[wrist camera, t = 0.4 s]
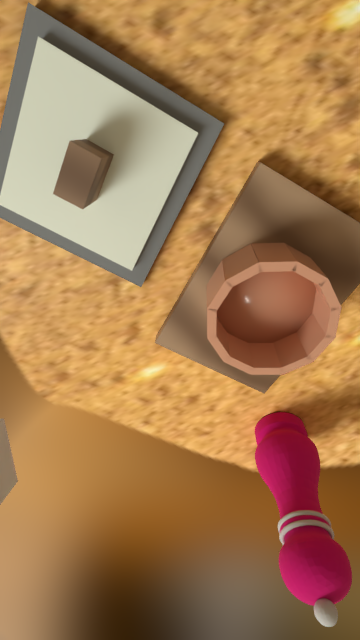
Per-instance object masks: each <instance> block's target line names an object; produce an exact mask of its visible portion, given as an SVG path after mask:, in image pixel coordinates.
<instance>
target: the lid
mask: <svg viewBox="0 0 360 640" xmlns="http://www.w3.org/2000/svg"><path fill="white" fill-rule="evenodd" d="M197 135H198V132H196V131H194V130H193V129H191V128H189V127H188V126H186V125H184V124H183V123H181V122H180V121H178V120H176V119H175V118H173V117H171V116H170V115H168V114H166V113H165V112H163V111H161V110H160V109H158V108H156V107H155V106H153V105H151V104H150V103H148V102H146V101H145V100H143V99H141V98H140V97H138V96H136V95H135V94H133V93H131V92H130V91H128V90H126V89H125V88H123V87H121V86H120V85H118V84H116V83H115V82H113V81H112V80H110V79H108V78H107V77H105V76H103V75H102V74H100V73H98V72H97V71H95V70H93V69H92V68H90V67H88V66H87V65H85V64H83V63H82V62H80V61H78V60H77V59H75V58H73V57H72V56H70V55H68V54H67V53H65V52H63V51H62V50H60V49H58V48H57V47H55V46H53V45H52V44H50V43H48V42H47V41H45V40H44V39H42V38H40V37H38V39H37V43H36V47H35V52H34V56H33V60H32V64H31V68H30V72H29V77H28V81H27V85H26V89H25V93H24V98H23V102H22V106H21V110H20V114H19V118H18V123H17V127H16V131H15V135H14V139H13V143H12V148H11V152H10V156H9V160H8V164H7V168H6V173H5V177H4V181H3V185H2V189H1V194H0V205H1V206H3V207H5V208H7V209H9V210H11V211H13V212H15V213H17V214H19V215H21V216H23V217H25V218H27V219H29V220H31V221H33V222H35V223H37V224H39V225H41V226H43V227H45V228H47V229H49V230H51V231H53V232H55V233H57V234H59V235H61V236H63V237H65V238H67V239H69V240H71V241H73V242H75V243H77V244H79V245H81V246H83V247H85V248H87V249H89V250H91V251H93V252H95V253H97V254H99V255H101V256H103V257H105V258H107V259H109V260H111V261H113V262H115V263H117V264H119V265H121V266H123V267H125V268H127V269H129V270H131V271H132V270H133V268H134V266H135V263H136V261H137V259H138V257H139V255H140V253H141V251H142V249H143V247H144V245H145V243H146V241H147V239H148V236H149V234H150V232H151V230H152V228H153V226H154V224H155V222H156V220H157V218H158V216H159V214H160V212H161V209H162V207H163V205H164V203H165V201H166V199H167V197H168V195H169V193H170V191H171V189H172V187H173V185H174V183H175V180H176V178H177V176H178V174H179V172H180V170H181V168H182V166H183V164H184V162H185V160H186V158H187V156H188V153H189V151H190V149H191V147H192V145H193V143H194V141H195V139H196V137H197Z"/></svg>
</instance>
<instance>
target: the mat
mask: <svg viewBox="0 0 360 640" xmlns="http://www.w3.org/2000/svg"><path fill="white" fill-rule="evenodd" d="M38 37H40V38H42V39H44V40H45V41H47V42H48V43H50V44H52V45H53V46H55V47H57V48H58V49H60V50H62V51H63V52H65V53H67V54H68V55H70V56H72V57H73V58H75V59H77V60H78V61H80V62H82V63H83V64H85V65H87V66H88V67H90V68H92V69H93V70H95V71H97V72H98V73H100V74H102V75H103V76H105V77H107V78H108V79H110V80H112V81H113V82H115V83H116V84H118V85H120V86H121V87H123V88H125V89H126V90H128V91H130V92H131V93H133V94H135V95H136V96H138V97H140V98H141V99H143V100H145V101H146V102H148V103H150V104H151V105H153V106H155V107H156V108H158V109H160V110H161V111H163V112H165V113H166V114H168V115H170V116H171V117H173V118H175V119H176V120H178V121H180V122H181V123H183V124H184V125H186V126H188V127H189V128H191V129H193V130H194V131H196V132H198V135H197V137H196V139H195V141H194V143H193V145H192V147H191V149H190V151H189V153H188V156H187V158H186V160H185V162H184V164H183V166H182V168H181V170H180V172H179V174H178V176H177V178H176V180H175V183H174V185H173V187H172V189H171V191H170V193H169V195H168V197H167V199H166V201H165V203H164V205H163V207H162V209H161V212H160V214H159V216H158V218H157V220H156V222H155V224H154V226H153V228H152V230H151V232H150V234H149V236H148V239H147V241H146V243H145V245H144V247H143V249H142V251H141V253H140V255H139V257H138V259H137V261H136V263H135V266H134V268H133V270H132V271H131V270H129V269H127V268H125V267H123V266H121V265H119V264H117V263H115V262H113V261H111V260H109V259H107V258H105V257H103V256H101V255H99V254H97V253H95V252H93V251H91V250H89V249H87V248H85V247H83V246H81V245H79V244H77V243H75V242H73V241H71V240H69V239H67V238H65V237H63V236H61V235H59V234H57V233H55V232H53V231H51V230H49V229H47V228H45V227H43V226H41V225H39V224H37V223H35V222H33V221H31V220H29V219H27V218H25V217H23V216H21V215H19V214H17V213H15V212H13V211H11V210H9V209H7V208H5V207H3V206H1V205H0V218H2V219H4V220H6V221H8V222H10V223H12V224H14V225H16V226H18V227H20V228H22V229H24V230H26V231H28V232H30V233H32V234H34V235H36V236H38V237H40V238H42V239H44V240H47V241H49V242H51V243H53V244H55V245H57V246H59V247H61V248H63V249H65V250H67V251H69V252H71V253H73V254H75V255H77V256H79V257H81V258H83V259H85V260H87V261H89V262H91V263H93V264H95V265H97V266H99V267H101V268H103V269H105V270H107V271H109V272H112V273H114V274H116V275H118V276H120V277H122V278H124V279H126V280H128V281H130V282H132V283H134V284H136V285H138V286H140V287H141V286H142V284H143V282H144V280H145V278H146V276H147V274H148V272H149V271H150V269H151V267H152V265H153V263H154V261H155V259H156V257H157V255H158V253H159V251H160V249H161V247H162V245H163V243H164V241H165V239H166V237H167V235H168V233H169V231H170V229H171V227H172V225H173V223H174V221H175V220H176V218H177V216H178V214H179V212H180V210H181V208H182V206H183V204H184V202H185V200H186V198H187V196H188V194H189V192H190V190H191V188H192V186H193V184H194V182H195V180H196V178H197V176H198V174H199V172H200V170H201V168H202V167H203V165H204V163H205V161H206V159H207V157H208V155H209V153H210V151H211V149H212V147H213V145H214V143H215V141H216V139H217V137H218V135H219V133H220V131H221V129H222V127H223V125H224V123H222V122H221V121H219V120H218V119H216V118H214V117H213V116H211V115H209V114H208V113H206V112H205V111H203V110H201V109H200V108H198V107H196V106H195V105H193V104H192V103H190V102H188V101H187V100H185V99H184V98H182V97H180V96H179V95H177V94H175V93H174V92H172V91H171V90H169V89H167V88H166V87H164V86H163V85H161V84H159V83H158V82H156V81H154V80H153V79H151V78H150V77H148V76H146V75H145V74H143V73H141V72H140V71H138V70H137V69H135V68H133V67H132V66H130V65H129V64H127V63H125V62H124V61H122V60H120V59H119V58H117V57H116V56H114V55H112V54H111V53H109V52H108V51H106V50H104V49H103V48H101V47H99V46H98V45H96V44H95V43H93V42H91V41H90V40H88V39H86V38H85V37H83V36H82V35H80V34H78V33H77V32H75V31H74V30H72V29H70V28H69V27H67V26H65V25H64V24H62V23H61V22H59V21H57V20H56V19H54V18H53V17H51V16H49V15H48V14H46V13H44V12H43V11H41V10H40V9H38V8H36V7H35V6H33V5H31V4H30V3H28V6H27V10H26V15H25V19H24V24H23V29H22V33H21V38H20V42H19V47H18V51H17V56H16V60H15V65H14V70H13V74H12V79H11V83H10V88H9V92H8V97H7V101H6V106H5V111H4V115H3V120H2V124H1V129H0V194H1V189H2V185H3V181H4V177H5V173H6V168H7V164H8V160H9V156H10V152H11V148H12V143H13V139H14V135H15V131H16V127H17V123H18V118H19V114H20V110H21V106H22V102H23V98H24V93H25V89H26V85H27V81H28V77H29V72H30V68H31V64H32V60H33V56H34V52H35V47H36V43H37V39H38Z"/></svg>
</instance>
